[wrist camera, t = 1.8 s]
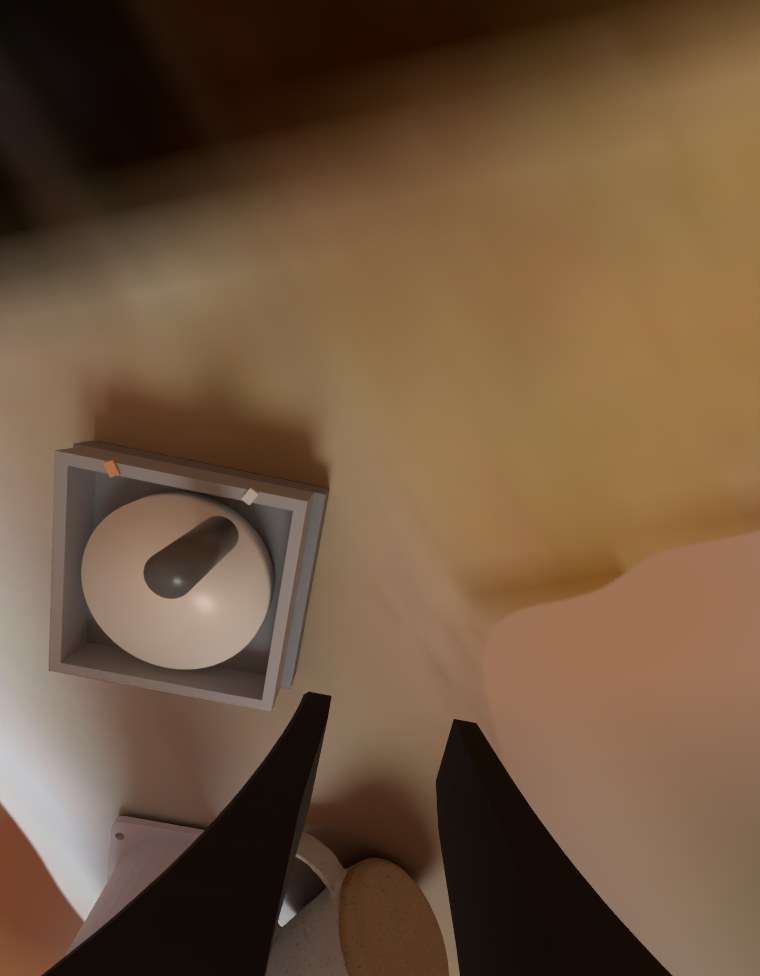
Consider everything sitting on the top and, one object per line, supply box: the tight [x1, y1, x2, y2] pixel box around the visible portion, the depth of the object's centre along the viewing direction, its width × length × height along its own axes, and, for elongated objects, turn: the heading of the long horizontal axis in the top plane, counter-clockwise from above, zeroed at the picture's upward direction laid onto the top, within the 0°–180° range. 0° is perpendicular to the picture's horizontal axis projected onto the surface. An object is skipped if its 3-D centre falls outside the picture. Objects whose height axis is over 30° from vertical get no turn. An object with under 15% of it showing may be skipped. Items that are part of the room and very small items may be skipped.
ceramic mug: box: [266, 832, 449, 976], centre depth 20 cm, size 11×8×8 cm
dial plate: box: [49, 441, 329, 712], centre depth 18 cm, size 10×11×3 cm
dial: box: [81, 491, 274, 669], centre depth 16 cm, size 8×8×5 cm
